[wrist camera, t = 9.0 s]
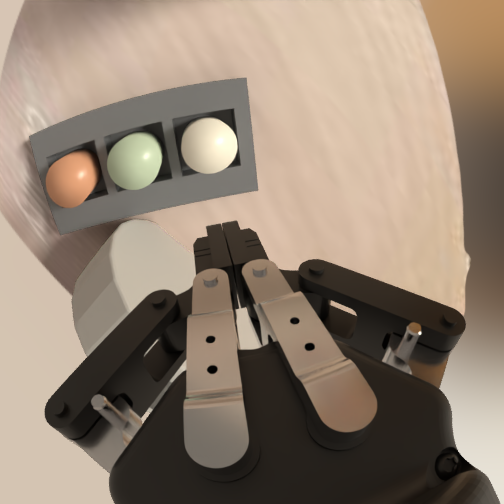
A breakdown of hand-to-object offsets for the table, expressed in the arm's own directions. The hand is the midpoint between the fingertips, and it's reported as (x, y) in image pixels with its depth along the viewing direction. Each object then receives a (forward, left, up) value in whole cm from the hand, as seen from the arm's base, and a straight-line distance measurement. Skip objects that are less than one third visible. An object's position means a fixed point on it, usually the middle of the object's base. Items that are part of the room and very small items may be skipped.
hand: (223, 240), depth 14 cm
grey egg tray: (-2, -6, -19) cm, 20 cm away
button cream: (-2, +1, -18) cm, 18 cm away
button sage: (-2, -6, -18) cm, 19 cm away
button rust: (-2, -13, -18) cm, 22 cm away
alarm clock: (+14, -6, -19) cm, 25 cm away
